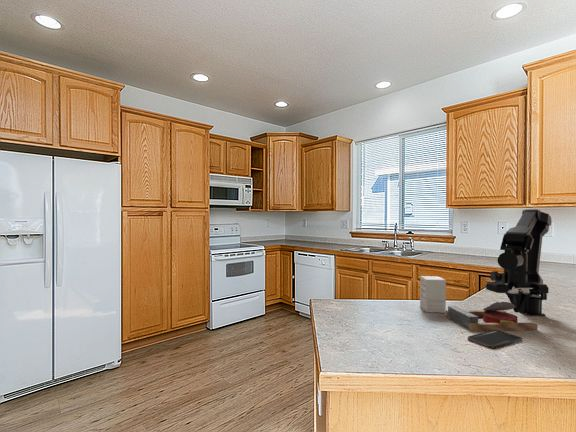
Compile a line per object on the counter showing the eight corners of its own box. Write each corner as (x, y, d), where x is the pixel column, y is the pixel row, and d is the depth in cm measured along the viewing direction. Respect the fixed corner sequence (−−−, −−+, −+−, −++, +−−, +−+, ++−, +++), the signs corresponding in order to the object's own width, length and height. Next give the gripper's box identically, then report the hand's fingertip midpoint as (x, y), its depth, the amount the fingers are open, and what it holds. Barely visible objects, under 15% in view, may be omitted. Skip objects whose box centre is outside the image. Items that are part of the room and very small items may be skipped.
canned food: (487, 337, 107) (471, 309, 110) (493, 327, 115) (478, 301, 117) (524, 330, 100) (506, 300, 103) (528, 319, 107) (511, 292, 110)
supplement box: (438, 307, 126) (439, 276, 126) (446, 313, 119) (446, 279, 119) (419, 306, 127) (419, 275, 127) (425, 312, 119) (426, 279, 119)
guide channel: (502, 315, 117) (502, 310, 117) (537, 330, 102) (537, 324, 102) (445, 315, 115) (445, 310, 115) (472, 330, 100) (472, 324, 100)
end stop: (455, 317, 114) (456, 306, 114) (477, 329, 102) (478, 316, 102) (447, 317, 114) (448, 306, 114) (469, 329, 102) (469, 316, 102)
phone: (465, 336, 93) (496, 329, 100) (465, 340, 93) (496, 332, 100) (493, 347, 86) (524, 338, 93) (493, 351, 86) (524, 342, 93)
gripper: (523, 263, 118) (522, 305, 118) (475, 263, 116) (475, 305, 116) (550, 268, 107) (549, 314, 107) (498, 268, 105) (497, 315, 105)
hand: (516, 312), depth 109 cm, fingers closed
